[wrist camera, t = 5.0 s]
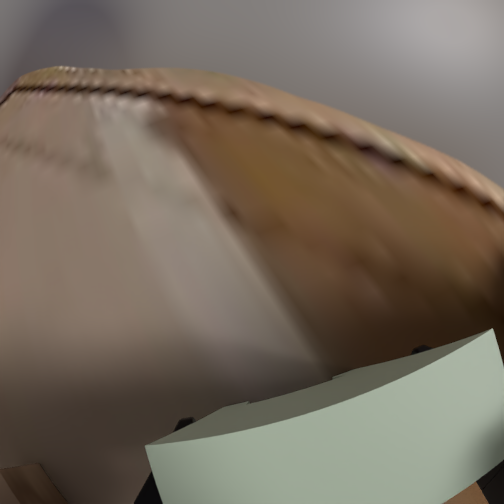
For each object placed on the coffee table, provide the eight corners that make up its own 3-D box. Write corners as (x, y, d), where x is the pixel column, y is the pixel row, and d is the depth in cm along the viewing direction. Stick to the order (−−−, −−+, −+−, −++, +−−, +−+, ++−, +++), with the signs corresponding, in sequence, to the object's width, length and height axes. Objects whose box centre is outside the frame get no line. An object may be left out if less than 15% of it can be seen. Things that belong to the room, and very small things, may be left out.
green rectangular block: (354, 368, 15) (492, 328, 5) (369, 419, 14) (517, 447, 4) (224, 406, 14) (144, 445, 4) (239, 459, 13) (193, 575, 3)
